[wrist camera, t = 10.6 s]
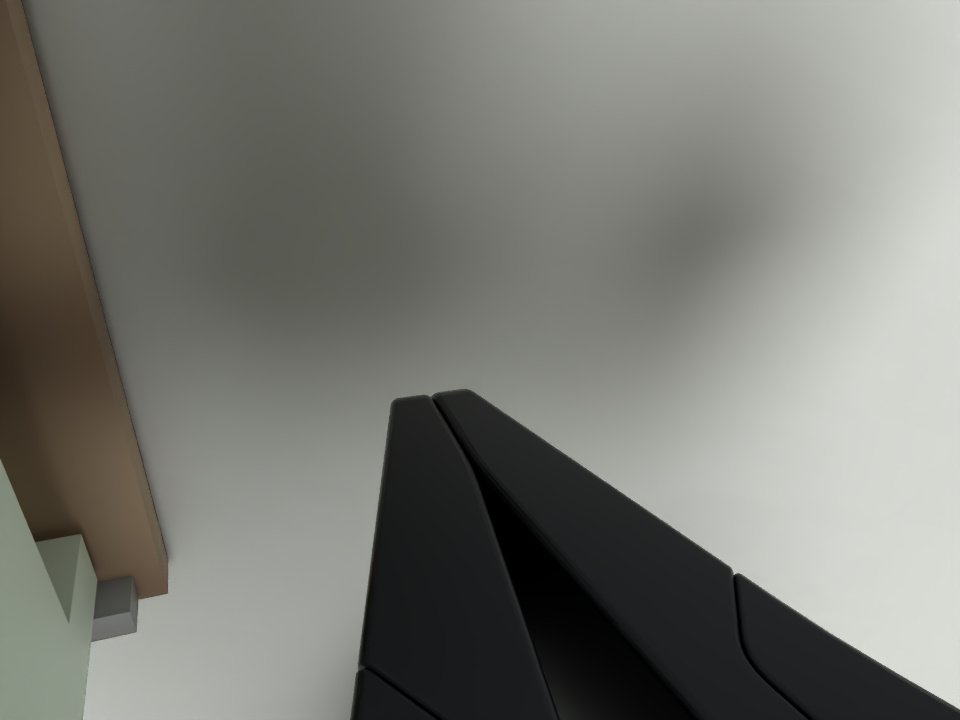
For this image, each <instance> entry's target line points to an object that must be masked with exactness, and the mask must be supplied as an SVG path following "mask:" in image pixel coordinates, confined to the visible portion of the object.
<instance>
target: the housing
mask: <svg viewBox="0 0 960 720" xmlns="http://www.w3.org/2000/svg"><path fill="white" fill-rule="evenodd" d="M96 588H97V577H96V574H95V572H94V569H93V566H92V563H91V560H90V558H89V555H88V552H87V549H86V546H85V543H84V541H83V538H82V535H81V534H78V535H73V536H67V537H62V538H56V539H50V540H45V541H39V542H35V541H34V539H33V536H32V534H31V532H30V529H29V527H28V524H27V522H26V520H25V517H24V515H23V512H22V510H21V508H20V505H19V503H18V500H17V498H16V495H15V493H14V491H13V488H12V486H11V483H10V481H9V479H8V476H7V474H6V471H5V469H4V467H3V464H2V462H1V459H0V720H83V713H84V703H85V694H86V684H87V675H88V665H89V655H90V646H91V636H92V627H93V617H94V608H95V598H96Z"/></svg>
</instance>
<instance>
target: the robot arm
mask: <svg viewBox="0 0 960 720" xmlns="http://www.w3.org/2000/svg"><path fill="white" fill-rule="evenodd" d="M350 720H960V709H958V708H956V707H955V706H953V705H951V704H949V703H948V702H946V701H944V700H942V699H941V698H939V697H937V696H935V695H934V694H932V693H930V692H929V691H927V690H925V689H923V688H922V687H920V686H918V685H916V684H915V683H913V682H911V681H909V680H908V679H906V678H904V677H903V676H901V675H899V674H897V673H896V672H894V671H892V670H891V669H889V668H887V667H886V666H884V665H882V664H881V663H879V662H877V661H876V660H874V659H872V658H871V657H869V656H867V655H866V654H864V653H862V652H861V651H859V650H857V649H856V648H854V647H852V646H851V645H849V644H847V643H846V642H844V641H842V640H841V639H839V638H837V637H836V636H834V635H832V634H831V633H829V632H828V631H826V630H825V629H823V628H822V627H820V626H819V625H817V624H815V623H814V622H812V621H811V620H809V619H808V618H806V617H805V616H803V615H802V614H800V613H799V612H797V611H796V610H794V609H792V608H791V607H789V606H788V605H786V604H785V603H783V602H782V601H780V600H779V599H777V598H776V597H774V596H773V595H771V594H770V593H768V592H767V591H765V590H764V589H762V588H761V587H759V586H758V585H757V584H755V583H754V582H752V581H751V580H749V579H748V578H746V577H745V576H743V575H742V574H740V573H737V574H735V575H733V570H732V568H731V567H730V566H728V565H727V564H725V563H724V562H722V561H721V560H719V559H718V558H716V557H715V556H713V555H712V554H711V553H709V552H708V551H706V550H705V549H703V548H702V547H700V546H699V545H697V544H696V543H694V542H693V541H691V540H690V539H689V538H687V537H686V536H684V535H683V534H681V533H680V532H678V531H677V530H675V529H674V528H672V527H671V526H670V525H668V524H667V523H665V522H664V521H662V520H661V519H659V518H658V517H656V516H655V515H653V514H652V513H650V512H649V511H648V510H646V509H645V508H643V507H642V506H640V505H639V504H637V503H636V502H634V501H633V500H631V499H630V498H628V497H627V496H626V495H624V494H623V493H621V492H620V491H618V490H617V489H615V488H614V487H612V486H611V485H609V484H608V483H606V482H605V481H604V480H602V479H601V478H599V477H598V476H596V475H595V474H593V473H592V472H590V471H589V470H587V469H586V468H584V467H583V466H582V465H580V464H579V463H577V462H576V461H574V460H573V459H571V458H570V457H568V456H567V455H565V454H564V453H562V452H561V451H560V450H558V449H557V448H555V447H554V446H552V445H551V444H549V443H548V442H546V441H545V440H543V439H542V438H540V437H539V436H538V435H536V434H535V433H533V432H532V431H530V430H529V429H527V428H526V427H524V426H523V425H521V424H520V423H518V422H517V421H516V420H514V419H513V418H511V417H510V416H508V415H507V414H505V413H504V412H502V411H501V410H499V409H498V408H497V407H495V406H494V405H492V404H491V403H489V402H488V401H486V400H485V399H483V398H482V397H480V396H479V395H477V394H476V393H475V392H473V391H471V390H468V389H459V390H452V391H445V392H438V393H435V394H434V395H433V396H432V397H430V396H428V395H417V396H410V397H403V398H397V399H395V400H393V402H392V403H391V408H390V416H389V424H388V431H387V439H386V447H385V455H384V463H383V471H382V478H381V486H380V494H379V502H378V510H377V518H376V525H375V533H374V541H373V549H372V557H371V565H370V572H369V580H368V588H367V596H366V604H365V612H364V619H363V627H362V635H361V643H360V651H359V659H358V672H357V673H356V678H355V686H354V694H353V702H352V709H351V717H350Z"/></svg>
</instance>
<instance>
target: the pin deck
mask: <svg viewBox="0 0 960 720" xmlns="http://www.w3.org/2000/svg"><path fill="white" fill-rule="evenodd" d="M0 459H1V462H2V464H3V467H4V469H5V471H6V474H7V476H8V479H9V481H10V483H11V486H12V488H13V491H14V493H15V495H16V498H17V500H18V503H19V505H20V508H21V510H22V512H23V515H24V517H25V520H26V522H27V524H28V527H29V529H30V532H31V534H32V536H33V539H34V541H35V542H39V541H45V540H50V539H56V538H62V537H67V536H73V535H78V534H81V535H82V538H83V541H84V543H85V546H86V549H87V552H88V555H89V558H90V560H91V563H92V566H93V569H94V572H95V574H96V577H97V588H96V598H95V608H94V617H93V627H92V636H91V642H94V641H98V640H103V639H108V638H112V637H117V636H121V635H126V634H130V633H135V632H137V614H138V600H139V599H143V598H148V597H153V596H158V595H163V594H168V558H167V555H166V551H165V547H164V543H163V539H162V536H161V532H160V528H159V524H158V520H157V517H156V513H155V509H154V505H153V501H152V498H151V494H150V490H149V486H148V482H147V478H146V475H145V471H144V467H143V463H142V459H141V456H140V452H139V448H138V444H137V440H136V437H135V433H134V429H133V425H132V421H131V418H130V414H129V410H128V406H127V402H126V398H125V395H124V391H123V387H122V383H121V379H120V376H119V372H118V368H117V364H116V360H115V357H114V353H113V349H112V345H111V341H110V337H109V334H108V330H107V326H106V322H105V318H104V315H103V311H102V307H101V303H100V299H99V296H98V292H97V288H96V284H95V280H94V277H93V273H92V269H91V265H90V261H89V257H88V254H87V250H86V246H85V242H84V238H83V235H82V231H81V227H80V223H79V219H78V216H77V212H76V208H75V204H74V200H73V197H72V193H71V189H70V185H69V181H68V177H67V174H66V170H65V166H64V162H63V158H62V155H61V151H60V147H59V143H58V139H57V136H56V132H55V128H54V124H53V120H52V117H51V113H50V109H49V105H48V101H47V97H46V94H45V90H44V86H43V82H42V78H41V75H40V71H39V67H38V63H37V59H36V56H35V52H34V48H33V44H32V40H31V37H30V33H29V29H28V25H27V21H26V17H25V14H24V10H23V6H22V2H21V0H0Z"/></svg>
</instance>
